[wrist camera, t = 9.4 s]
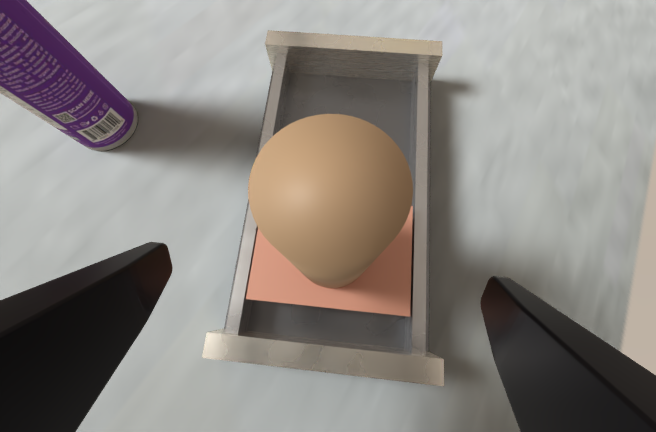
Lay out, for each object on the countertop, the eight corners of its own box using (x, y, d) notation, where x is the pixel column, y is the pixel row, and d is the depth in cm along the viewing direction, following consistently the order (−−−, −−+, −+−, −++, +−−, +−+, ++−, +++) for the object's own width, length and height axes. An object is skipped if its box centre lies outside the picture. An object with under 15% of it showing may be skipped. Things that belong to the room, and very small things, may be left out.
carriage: (401, 315, 17) (520, 336, 6) (256, 299, 18) (124, 292, 7) (404, 216, 19) (503, 93, 8) (271, 204, 20) (186, 71, 8)
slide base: (423, 370, 18) (443, 386, 14) (226, 347, 18) (201, 357, 15) (426, 78, 24) (442, 41, 20) (277, 68, 24) (267, 30, 21)
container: (140, 95, 24) (-158, -225, 9) (135, 148, 22) (-222, -131, 8) (81, 101, 24) (-309, -212, 9) (73, 154, 22) (-398, -115, 8)
